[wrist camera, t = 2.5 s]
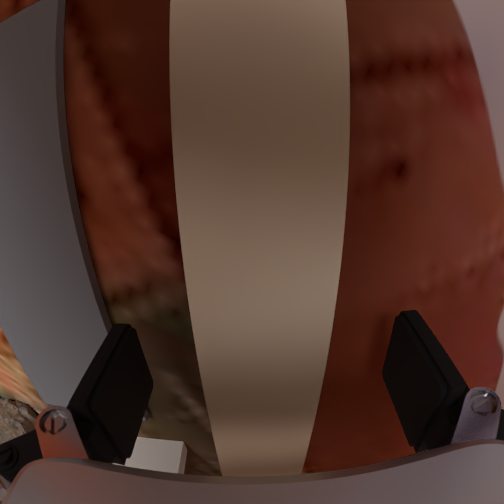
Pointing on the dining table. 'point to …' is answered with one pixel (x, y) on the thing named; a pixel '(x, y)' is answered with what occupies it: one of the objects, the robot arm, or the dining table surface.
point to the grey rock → (15, 419)
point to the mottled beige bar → (261, 212)
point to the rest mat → (43, 213)
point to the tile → (158, 455)
